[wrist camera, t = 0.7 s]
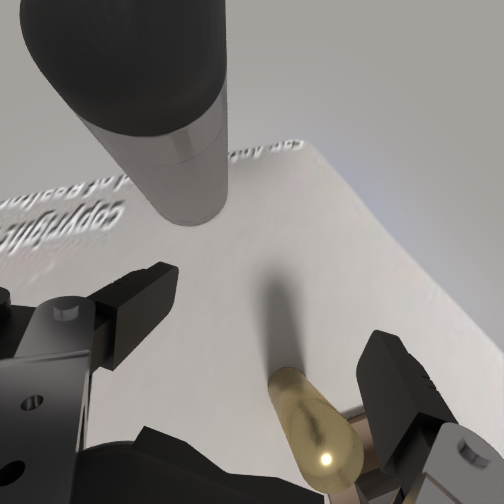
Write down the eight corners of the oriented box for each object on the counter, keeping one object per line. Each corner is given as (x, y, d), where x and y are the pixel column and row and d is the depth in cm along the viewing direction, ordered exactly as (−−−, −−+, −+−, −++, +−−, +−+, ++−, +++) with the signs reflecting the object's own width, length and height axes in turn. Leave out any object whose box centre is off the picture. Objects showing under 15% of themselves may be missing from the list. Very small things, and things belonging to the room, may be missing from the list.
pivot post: (263, 374, 28) (288, 430, 16) (300, 362, 29) (350, 407, 17) (274, 416, 28) (309, 505, 16) (312, 402, 28) (373, 478, 16)
